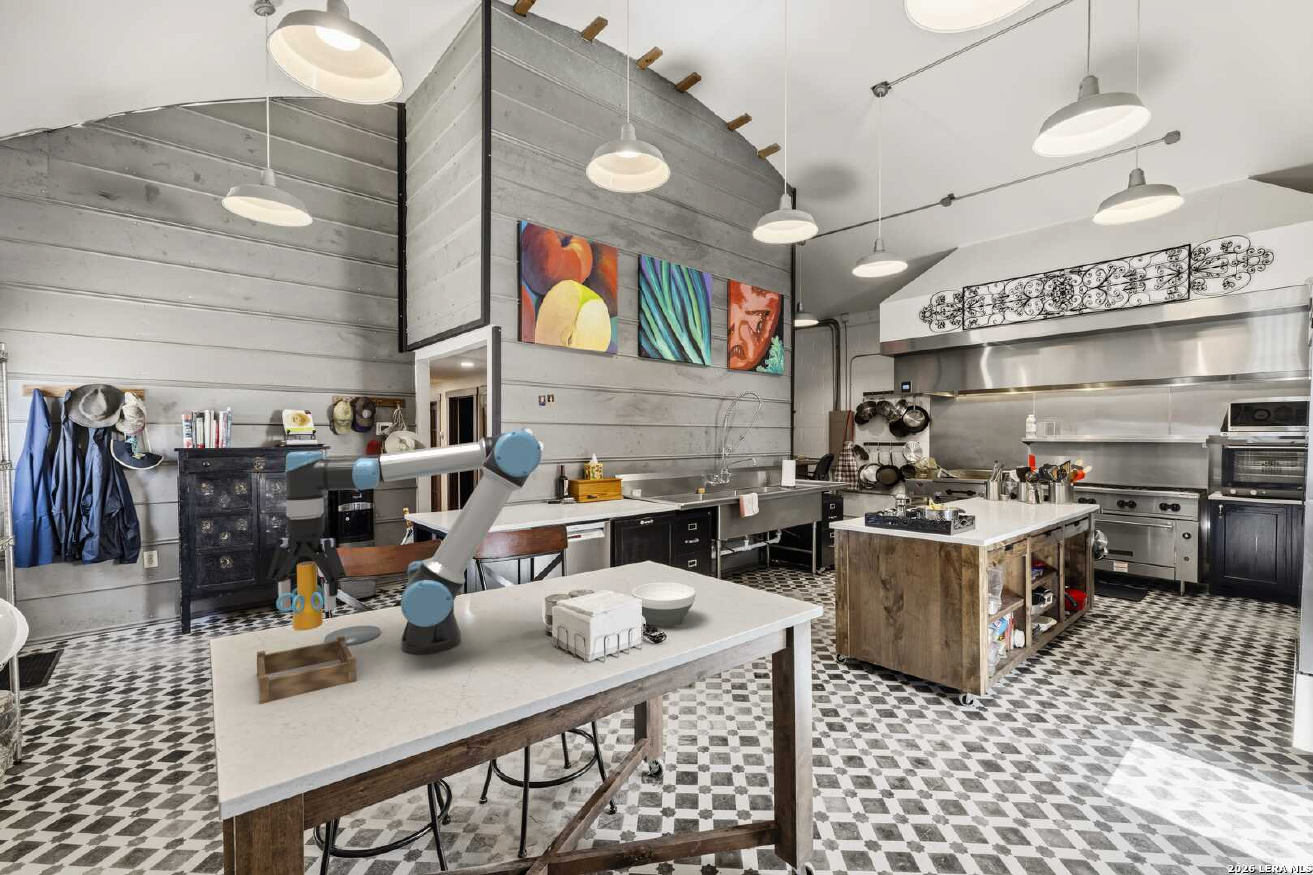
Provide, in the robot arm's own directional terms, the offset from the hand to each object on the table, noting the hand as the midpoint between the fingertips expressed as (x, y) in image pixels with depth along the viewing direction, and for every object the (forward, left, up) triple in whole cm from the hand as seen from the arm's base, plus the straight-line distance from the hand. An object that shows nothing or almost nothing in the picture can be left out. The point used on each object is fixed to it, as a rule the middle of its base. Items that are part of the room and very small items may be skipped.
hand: (307, 608), depth 132 cm
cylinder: (0, 0, -4) cm, 4 cm away
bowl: (-79, -51, -16) cm, 95 cm away
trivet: (+7, -26, -16) cm, 31 cm away
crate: (0, 0, -16) cm, 16 cm away
